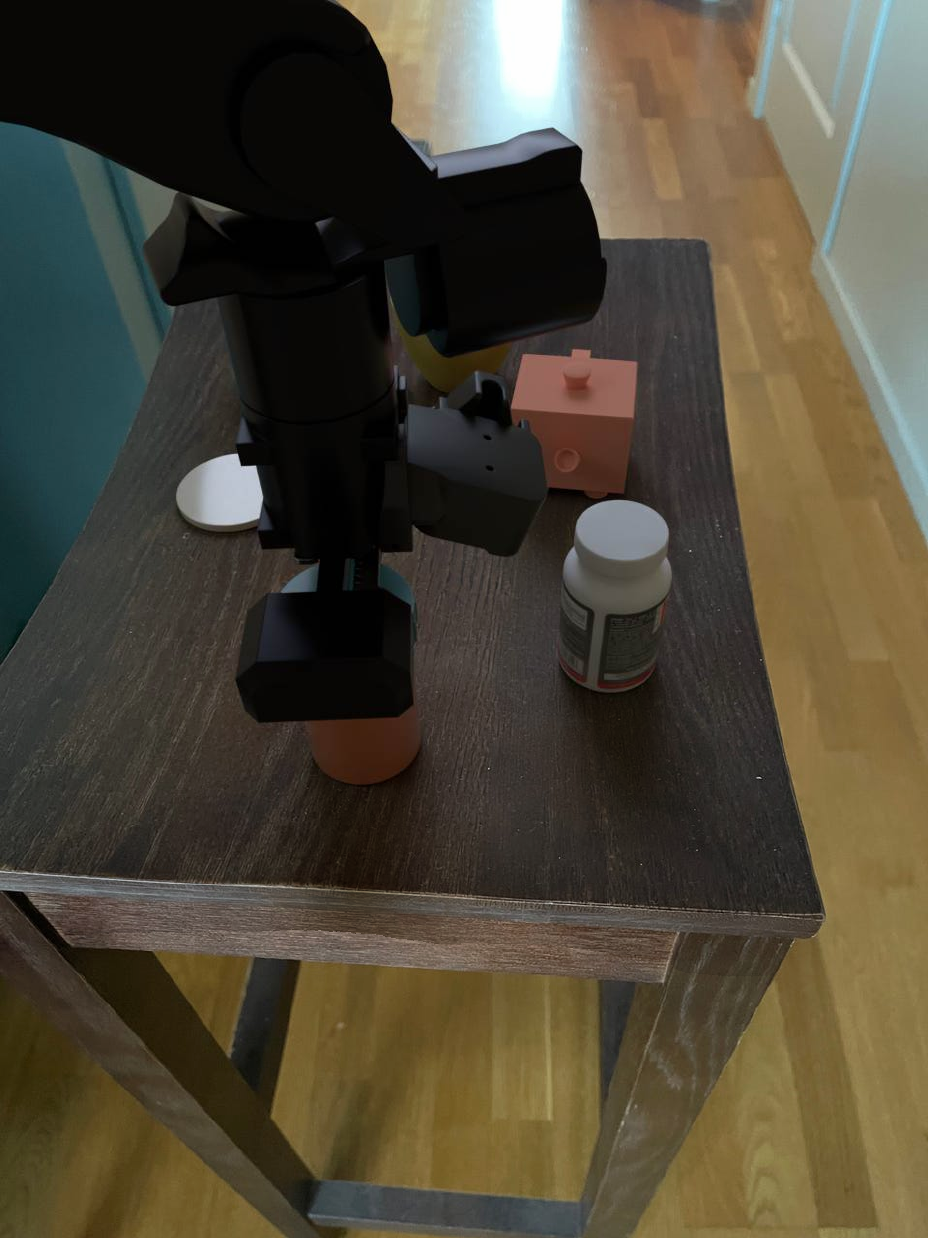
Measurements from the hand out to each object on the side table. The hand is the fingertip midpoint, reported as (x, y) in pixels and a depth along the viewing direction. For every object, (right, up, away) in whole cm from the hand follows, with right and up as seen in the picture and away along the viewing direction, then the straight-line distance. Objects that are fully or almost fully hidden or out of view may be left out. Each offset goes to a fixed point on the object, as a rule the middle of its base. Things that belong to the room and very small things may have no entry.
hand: (361, 657), depth 45 cm
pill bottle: (+13, -1, +8) cm, 16 cm away
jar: (0, -5, +5) cm, 7 cm away
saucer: (-11, +11, +19) cm, 25 cm away
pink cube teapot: (+12, +12, +20) cm, 26 cm away
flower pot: (+5, +21, +29) cm, 36 cm away
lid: (-1, +2, -2) cm, 3 cm away
